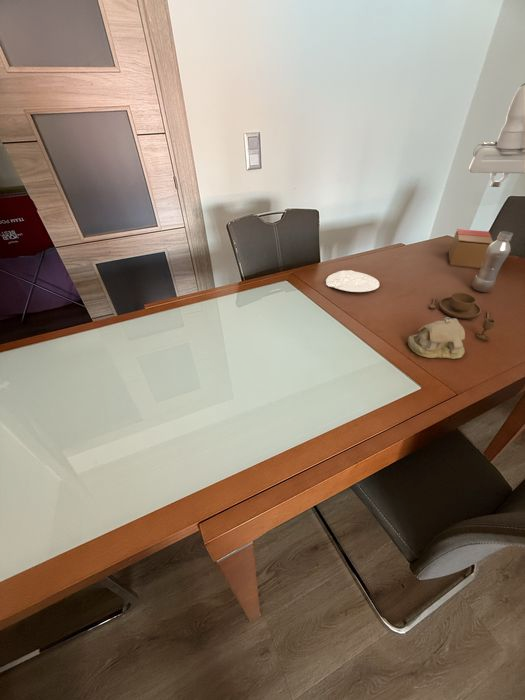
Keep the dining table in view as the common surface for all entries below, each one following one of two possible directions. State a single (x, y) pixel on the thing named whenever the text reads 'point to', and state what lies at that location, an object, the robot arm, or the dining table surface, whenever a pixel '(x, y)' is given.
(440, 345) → the ceramic model
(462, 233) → the red rectangular panel
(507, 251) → the plastic bottle
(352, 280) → the plaque
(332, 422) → the dining table surface
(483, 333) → the place setting
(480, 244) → the carton
